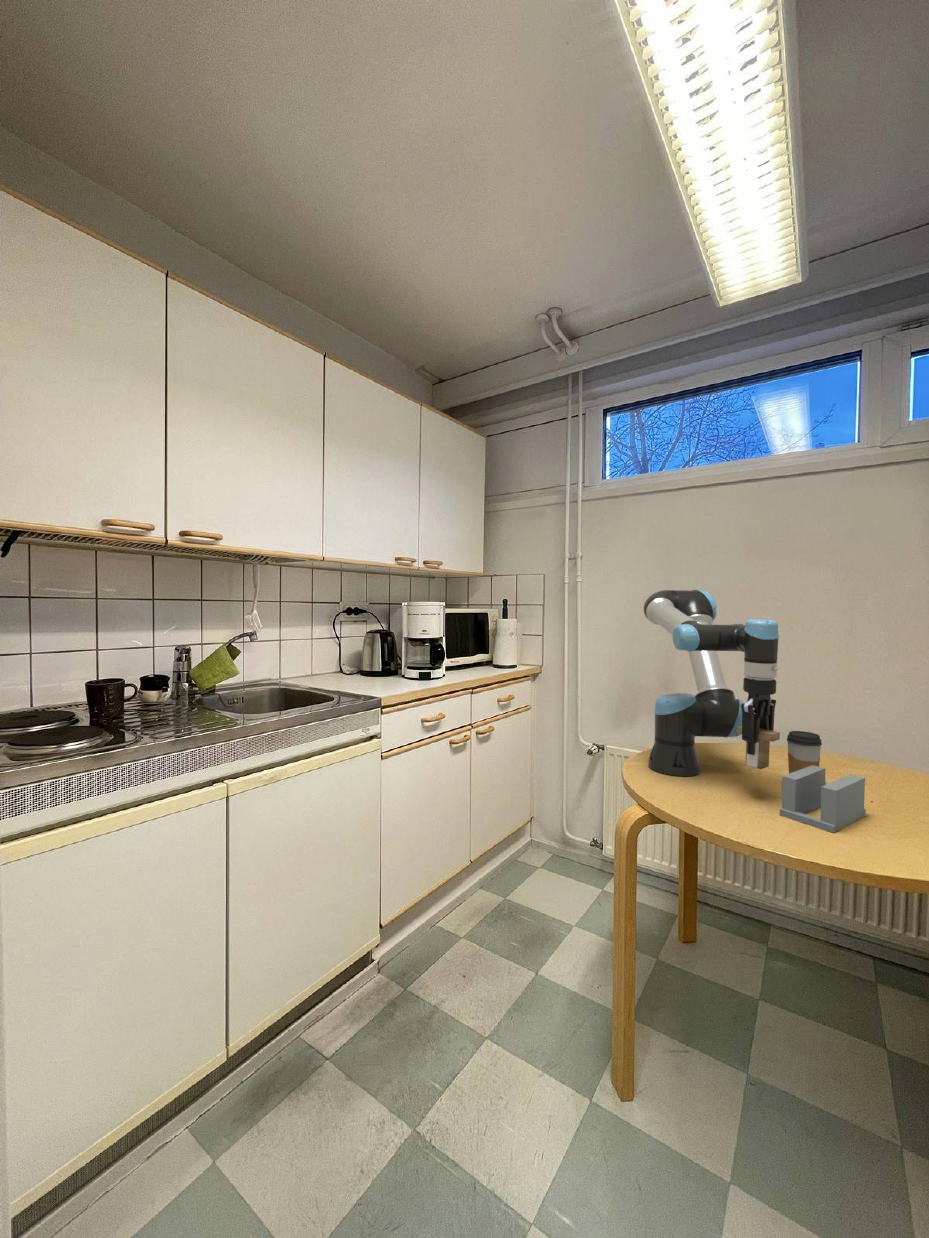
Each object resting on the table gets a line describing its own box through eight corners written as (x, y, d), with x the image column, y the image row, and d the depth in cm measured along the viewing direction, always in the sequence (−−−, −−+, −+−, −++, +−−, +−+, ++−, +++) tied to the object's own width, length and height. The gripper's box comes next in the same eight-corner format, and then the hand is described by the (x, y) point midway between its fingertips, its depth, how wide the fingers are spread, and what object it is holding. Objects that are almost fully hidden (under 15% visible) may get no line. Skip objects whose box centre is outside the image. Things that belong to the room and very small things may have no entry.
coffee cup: (826, 792, 137) (828, 738, 137) (793, 790, 139) (794, 737, 138) (812, 782, 145) (813, 731, 145) (780, 779, 147) (781, 729, 147)
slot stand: (779, 815, 122) (780, 776, 122) (813, 799, 132) (814, 764, 132) (833, 833, 113) (834, 791, 112) (865, 815, 122) (866, 777, 122)
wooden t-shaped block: (736, 762, 135) (737, 726, 135) (744, 759, 138) (745, 724, 137) (771, 772, 128) (772, 734, 127) (778, 769, 130) (780, 732, 129)
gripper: (757, 683, 124) (754, 774, 125) (791, 676, 133) (787, 762, 134) (728, 678, 130) (725, 766, 131) (761, 673, 139) (758, 754, 141)
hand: (756, 764), depth 133 cm, fingers closed on wooden t-shaped block, 4 cm apart
